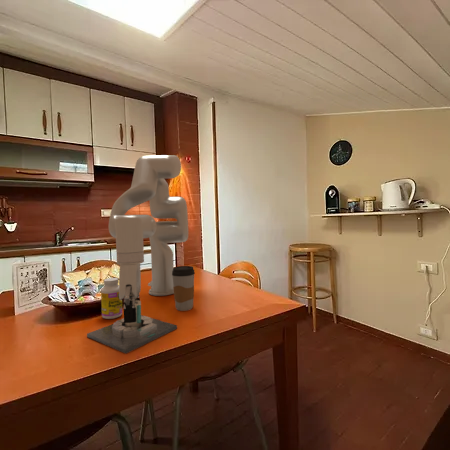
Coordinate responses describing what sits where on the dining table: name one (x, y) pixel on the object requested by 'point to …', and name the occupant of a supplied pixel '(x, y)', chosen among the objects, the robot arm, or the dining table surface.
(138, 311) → the knob
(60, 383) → the dining table surface
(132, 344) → the hub plate
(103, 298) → the supplement bottle
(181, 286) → the coffee cup
